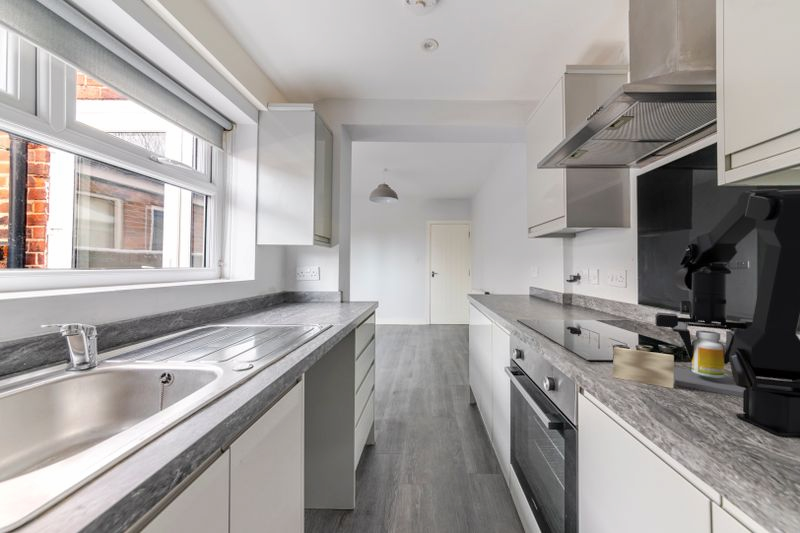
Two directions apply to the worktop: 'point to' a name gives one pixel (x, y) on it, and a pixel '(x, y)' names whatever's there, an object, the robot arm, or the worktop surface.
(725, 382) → the charcoal mat
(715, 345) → the supplement bottle
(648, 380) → the birch screen
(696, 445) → the worktop surface
